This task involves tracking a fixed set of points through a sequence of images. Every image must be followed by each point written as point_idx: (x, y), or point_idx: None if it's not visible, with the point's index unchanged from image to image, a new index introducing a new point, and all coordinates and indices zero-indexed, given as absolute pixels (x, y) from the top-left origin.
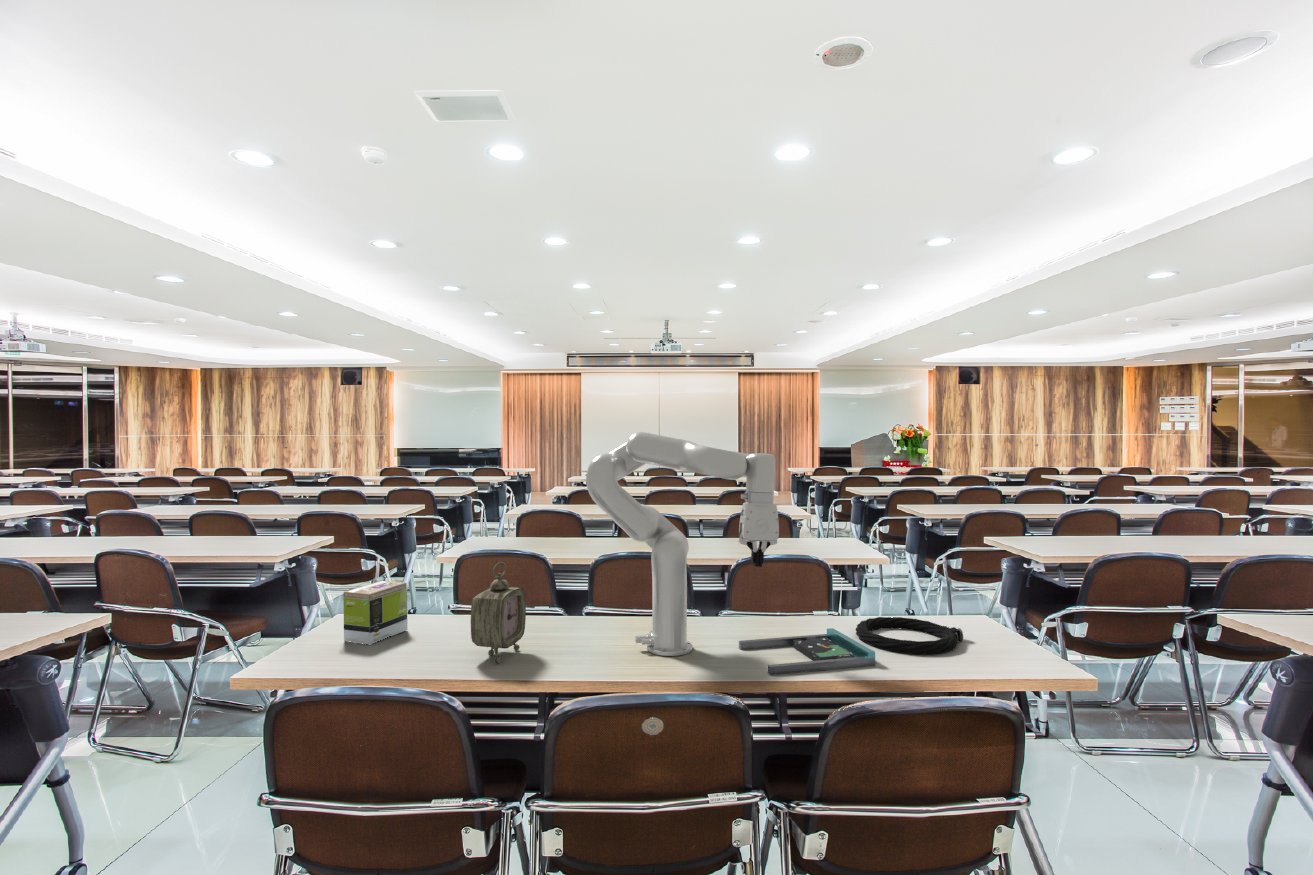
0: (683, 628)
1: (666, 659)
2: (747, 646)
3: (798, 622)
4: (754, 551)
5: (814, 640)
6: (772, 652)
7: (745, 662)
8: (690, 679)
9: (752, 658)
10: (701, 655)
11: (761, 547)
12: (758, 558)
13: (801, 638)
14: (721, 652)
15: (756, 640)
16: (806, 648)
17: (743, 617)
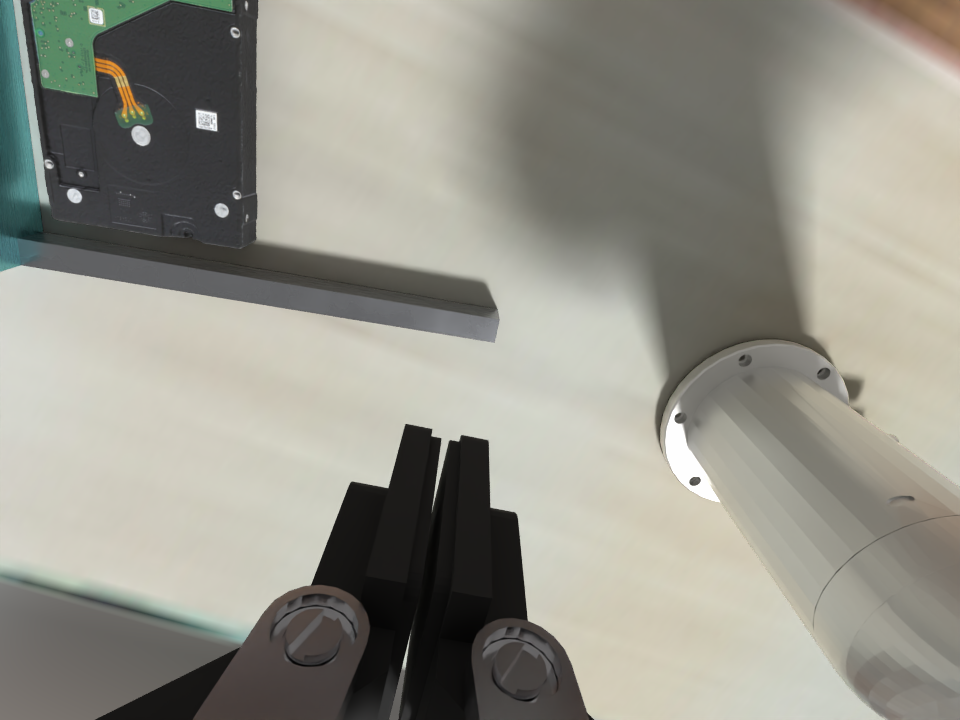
0: (781, 415)
1: (832, 326)
2: (466, 307)
3: (70, 510)
4: (536, 634)
5: (134, 200)
6: (384, 223)
7: (573, 157)
8: (916, 68)
9: (513, 191)
10: (685, 313)
11: (345, 707)
12: (459, 503)
13: (183, 265)
14: (590, 312)
15: (417, 314)
16: (240, 102)
17: None
